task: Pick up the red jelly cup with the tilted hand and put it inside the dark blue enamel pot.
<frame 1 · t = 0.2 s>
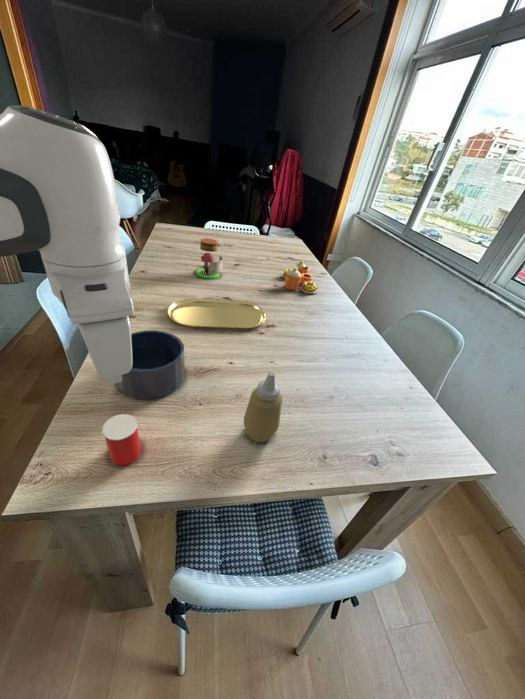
hand: (108, 360, 45), 24 cm above the table, tool pointing down, fingers open, 8 cm apart
pot: (151, 376, 77), on the table
mushroom terrarium jar: (207, 274, 134), on the table
serving platter: (218, 316, 106), on the table
jelly: (125, 452, 59), on the table
toy tea set: (297, 282, 142), on the table
squeeze bottle: (259, 432, 68), on the table
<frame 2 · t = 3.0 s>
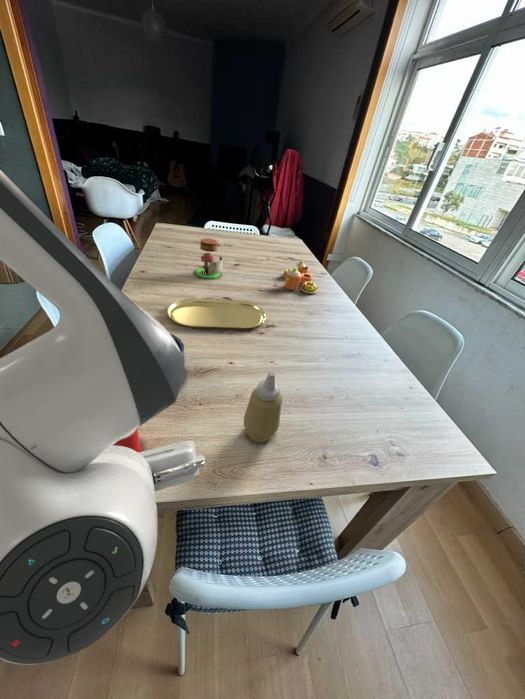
hand: (117, 464, 41), 15 cm above the table, tool tilted 45°, fingers open, 8 cm apart
nothing on the table moved.
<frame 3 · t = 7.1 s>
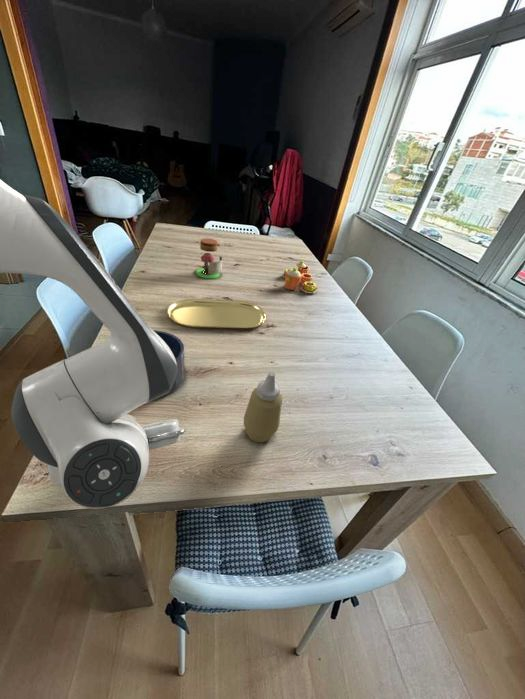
hand: (122, 436, 57), 4 cm above the table, tool tilted 45°, fingers closed on jelly, 5 cm apart
jelly: (126, 452, 59), on the table, touching gripper
everything else where it was.
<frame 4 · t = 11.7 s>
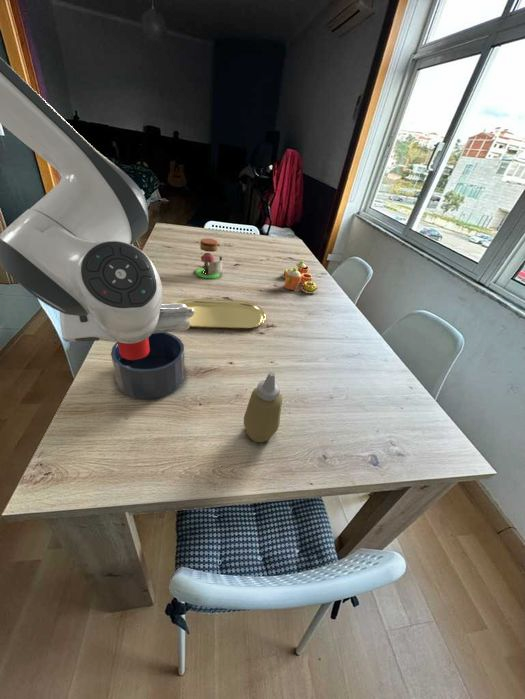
hand: (131, 331, 57), 20 cm above the table, tool tilted 45°, fingers closed on jelly, 5 cm apart
jelly: (135, 351, 59), point 16 cm above the table, touching gripper
everything else where it was.
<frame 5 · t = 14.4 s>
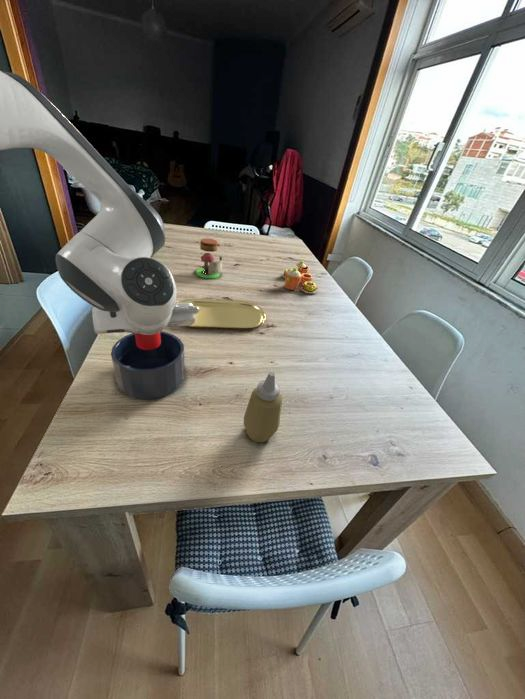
hand: (146, 326, 68), 15 cm above the table, tool tilted 45°, fingers closed on jelly, 5 cm apart
jelly: (148, 343, 71), point 11 cm above the table, touching gripper
everything else where it was.
when the fingers open (8 cm above the table, at t = 16.8 s): jelly drops 3 cm, resting on pot.
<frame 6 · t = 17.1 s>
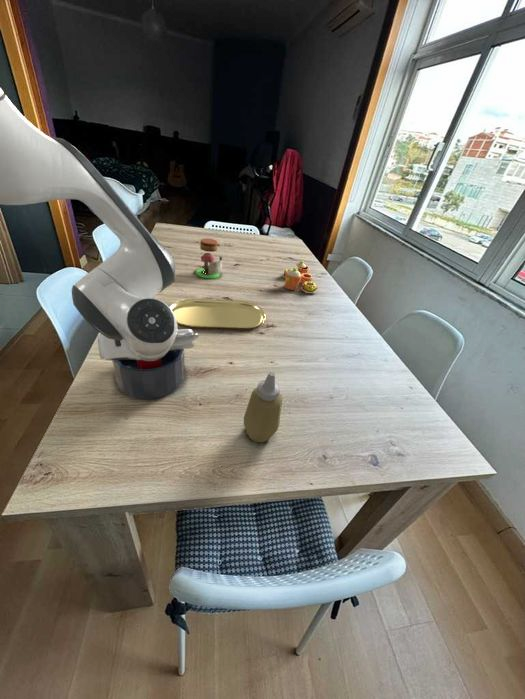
hand: (148, 348, 72), 9 cm above the table, tool tilted 45°, fingers open, 8 cm apart
jelly: (151, 374, 76), point 1 cm above the table, touching pot
everything else where it was.
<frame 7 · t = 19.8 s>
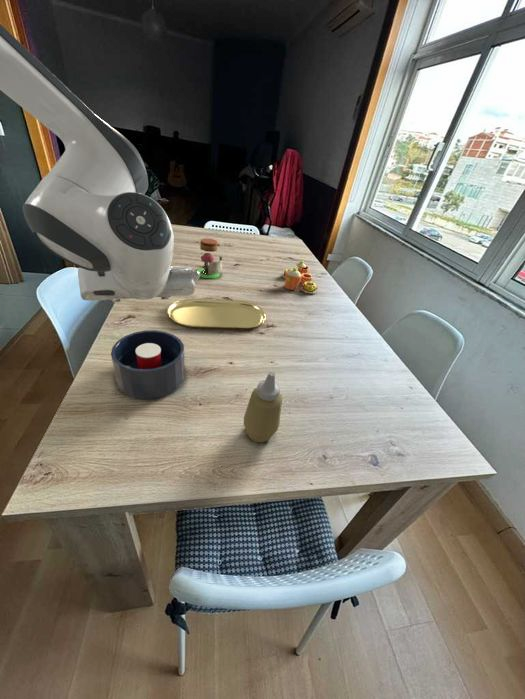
hand: (140, 297, 62), 24 cm above the table, tool tilted 45°, fingers open, 8 cm apart
nothing on the table moved.
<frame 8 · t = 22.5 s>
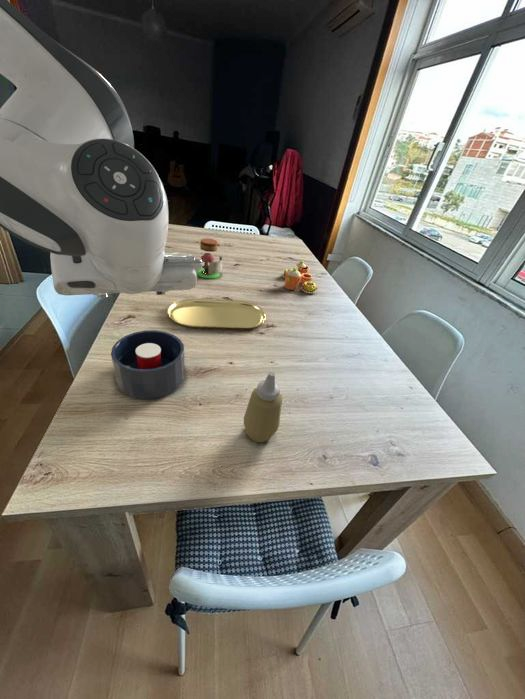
hand: (132, 291, 52), 29 cm above the table, tool tilted 45°, fingers open, 8 cm apart
nothing on the table moved.
at the end: jelly inside the target area in the pot (0.2 cm from its centre), point 0.5 cm above the pot's base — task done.
